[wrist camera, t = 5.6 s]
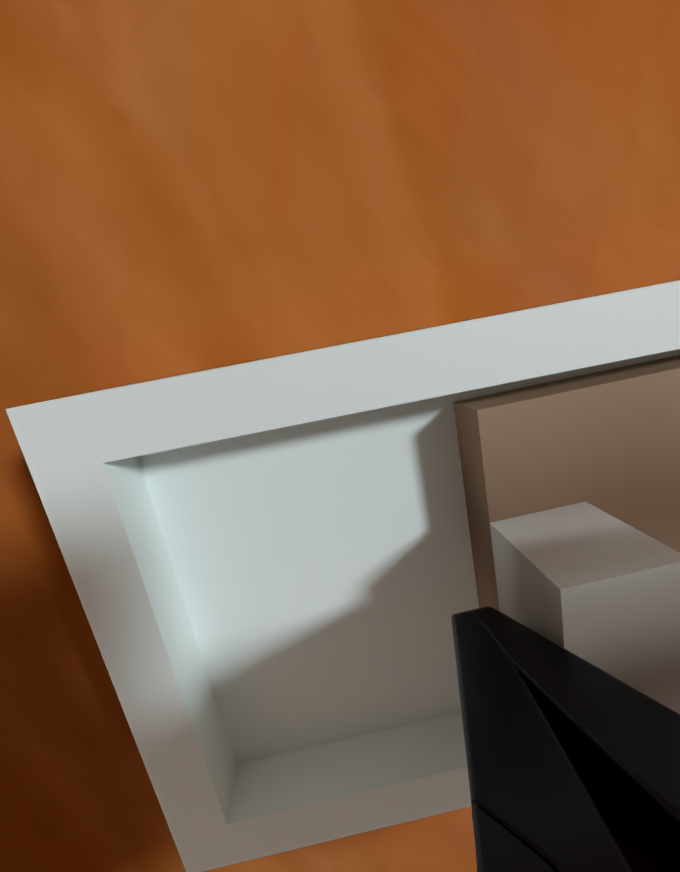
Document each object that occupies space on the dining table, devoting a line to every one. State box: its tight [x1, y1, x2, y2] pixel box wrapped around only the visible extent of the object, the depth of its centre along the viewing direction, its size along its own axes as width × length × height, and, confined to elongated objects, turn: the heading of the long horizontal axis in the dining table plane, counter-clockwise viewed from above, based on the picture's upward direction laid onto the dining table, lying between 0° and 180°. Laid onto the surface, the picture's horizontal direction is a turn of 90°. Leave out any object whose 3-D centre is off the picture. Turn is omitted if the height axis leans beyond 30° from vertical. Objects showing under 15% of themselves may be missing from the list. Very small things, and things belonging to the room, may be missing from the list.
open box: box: [6, 280, 680, 872], centre depth 9 cm, size 11×17×3 cm, turn 101°
